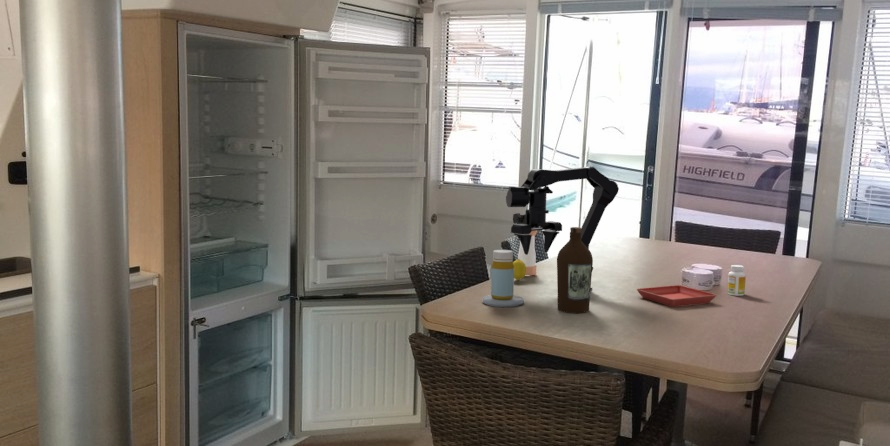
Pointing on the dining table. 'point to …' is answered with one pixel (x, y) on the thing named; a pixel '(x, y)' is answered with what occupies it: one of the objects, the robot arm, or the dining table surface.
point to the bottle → (502, 275)
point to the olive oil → (574, 275)
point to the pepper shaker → (529, 256)
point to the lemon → (519, 269)
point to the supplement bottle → (736, 281)
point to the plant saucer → (676, 295)
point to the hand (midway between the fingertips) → (536, 253)
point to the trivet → (503, 301)
